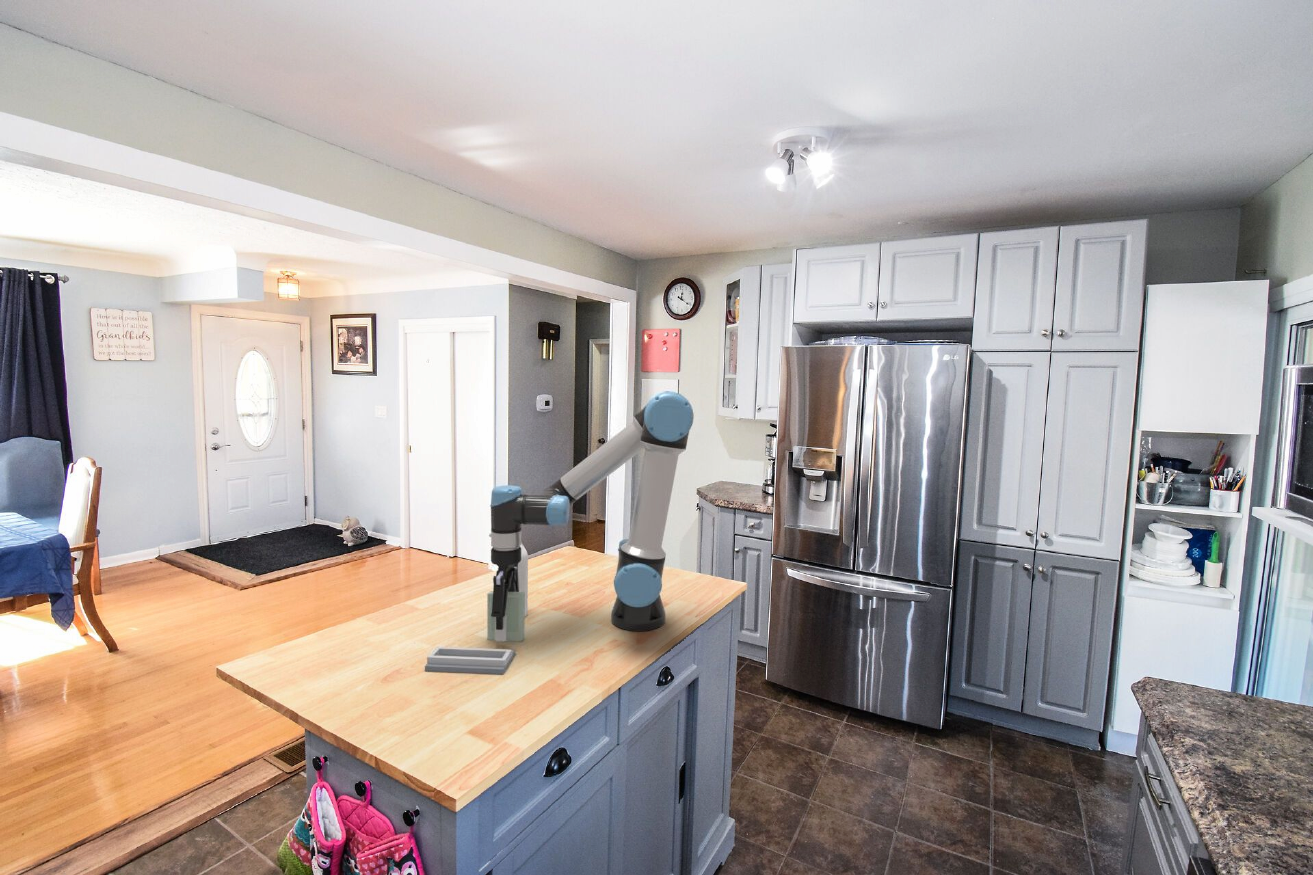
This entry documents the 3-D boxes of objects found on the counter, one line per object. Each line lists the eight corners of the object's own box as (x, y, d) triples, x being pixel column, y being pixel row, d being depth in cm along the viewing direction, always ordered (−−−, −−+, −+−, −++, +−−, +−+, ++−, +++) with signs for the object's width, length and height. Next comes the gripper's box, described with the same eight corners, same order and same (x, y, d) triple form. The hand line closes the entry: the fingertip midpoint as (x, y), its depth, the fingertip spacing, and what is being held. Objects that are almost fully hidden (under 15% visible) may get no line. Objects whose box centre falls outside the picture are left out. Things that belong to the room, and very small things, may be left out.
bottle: (506, 622, 164) (506, 514, 162) (493, 613, 170) (493, 509, 168) (532, 615, 169) (533, 511, 167) (519, 607, 175) (519, 506, 173)
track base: (515, 654, 145) (515, 643, 145) (503, 674, 135) (503, 662, 135) (442, 651, 146) (442, 640, 145) (424, 670, 136) (424, 659, 136)
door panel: (524, 637, 155) (524, 592, 154) (522, 641, 153) (522, 595, 152) (490, 635, 155) (490, 590, 154) (487, 639, 153) (487, 594, 152)
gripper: (504, 535, 163) (504, 616, 165) (477, 558, 142) (477, 650, 143) (531, 536, 163) (531, 617, 165) (508, 559, 141) (508, 651, 143)
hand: (506, 632), depth 154 cm, fingers open, 9 cm apart
